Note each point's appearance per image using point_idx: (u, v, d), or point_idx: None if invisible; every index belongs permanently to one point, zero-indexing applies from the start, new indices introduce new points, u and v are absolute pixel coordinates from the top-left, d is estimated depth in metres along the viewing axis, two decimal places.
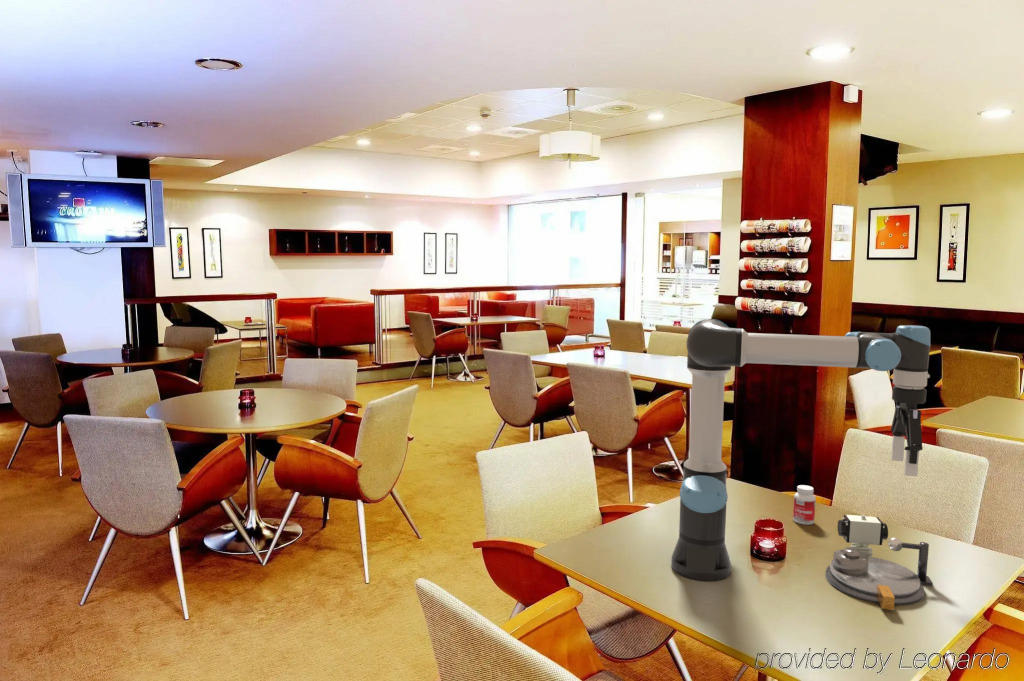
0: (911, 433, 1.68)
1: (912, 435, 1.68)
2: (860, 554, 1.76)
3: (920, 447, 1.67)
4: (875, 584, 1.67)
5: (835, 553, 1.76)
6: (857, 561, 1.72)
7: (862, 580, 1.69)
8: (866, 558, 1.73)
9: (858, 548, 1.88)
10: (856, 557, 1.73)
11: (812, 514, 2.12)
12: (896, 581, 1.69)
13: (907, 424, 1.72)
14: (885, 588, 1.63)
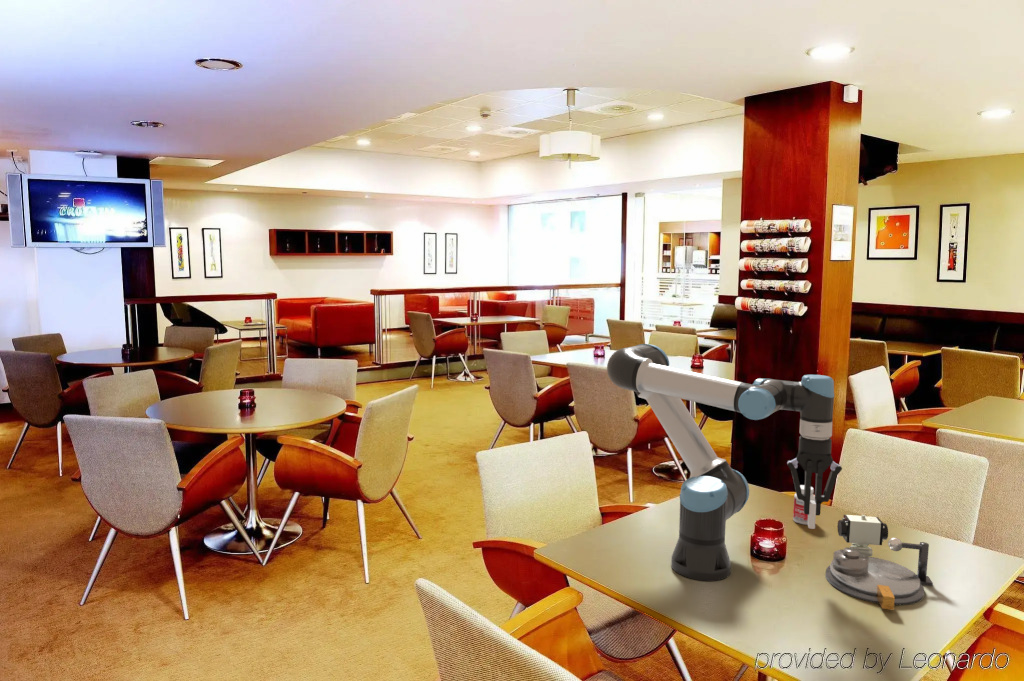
0: None
1: (794, 484, 1.77)
2: (860, 554, 1.76)
3: None
4: (875, 584, 1.67)
5: (835, 553, 1.76)
6: (857, 561, 1.72)
7: (862, 580, 1.69)
8: (866, 558, 1.73)
9: (858, 548, 1.88)
10: (856, 557, 1.73)
11: None
12: (896, 581, 1.69)
13: (805, 474, 1.77)
14: (885, 588, 1.63)
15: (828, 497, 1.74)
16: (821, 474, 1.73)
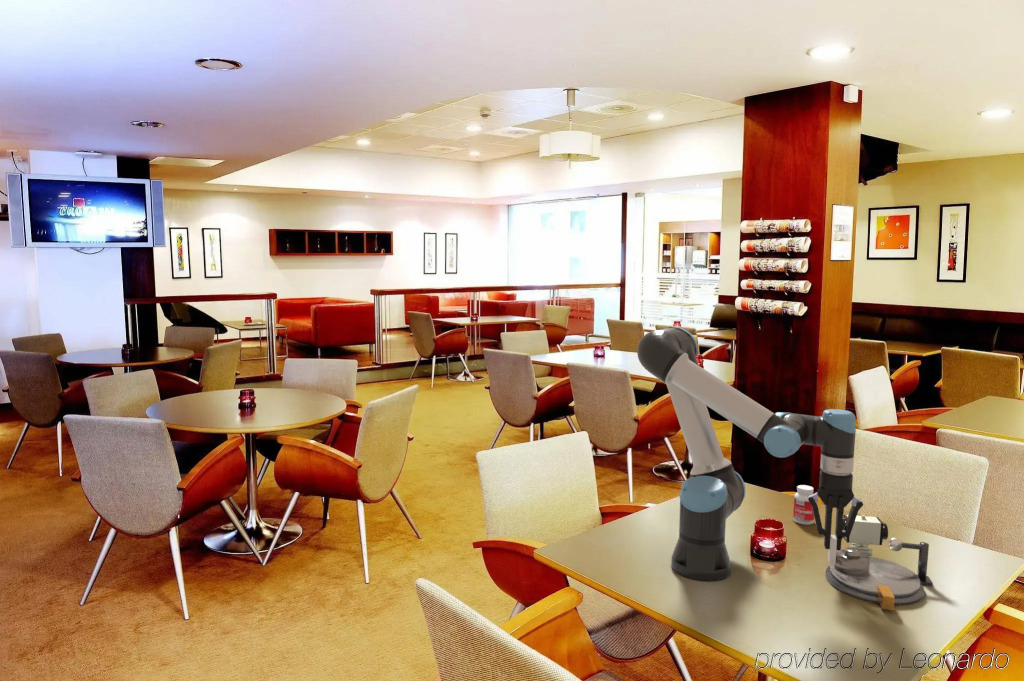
0: (814, 517, 1.77)
1: None
2: (861, 554, 1.76)
3: (818, 532, 1.76)
4: (875, 584, 1.67)
5: (836, 553, 1.76)
6: (858, 561, 1.72)
7: (862, 580, 1.69)
8: (867, 558, 1.73)
9: (858, 548, 1.88)
10: (857, 557, 1.73)
11: (812, 514, 2.12)
12: (896, 581, 1.69)
13: None
14: (885, 588, 1.63)
15: (849, 532, 1.73)
16: (842, 509, 1.72)
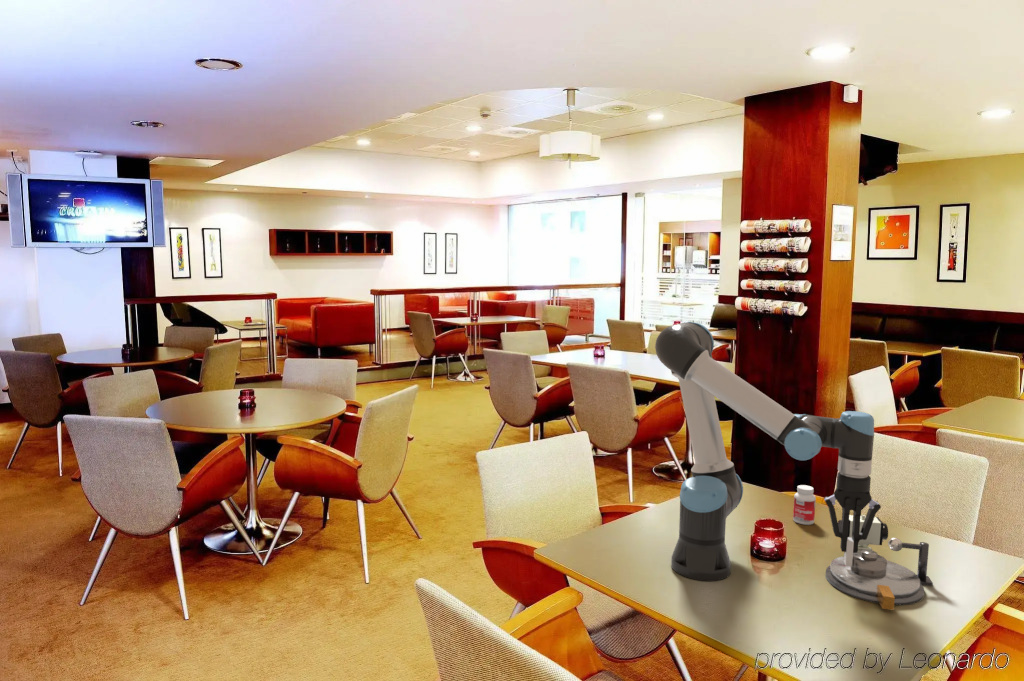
0: None
1: (831, 521, 1.76)
2: (878, 556, 1.75)
3: None
4: (875, 584, 1.67)
5: (853, 555, 1.75)
6: (875, 563, 1.71)
7: (862, 580, 1.69)
8: (884, 560, 1.72)
9: (858, 548, 1.88)
10: (874, 559, 1.72)
11: (812, 514, 2.12)
12: (896, 581, 1.69)
13: (842, 511, 1.75)
14: (885, 588, 1.63)
15: (866, 535, 1.72)
16: (859, 512, 1.71)
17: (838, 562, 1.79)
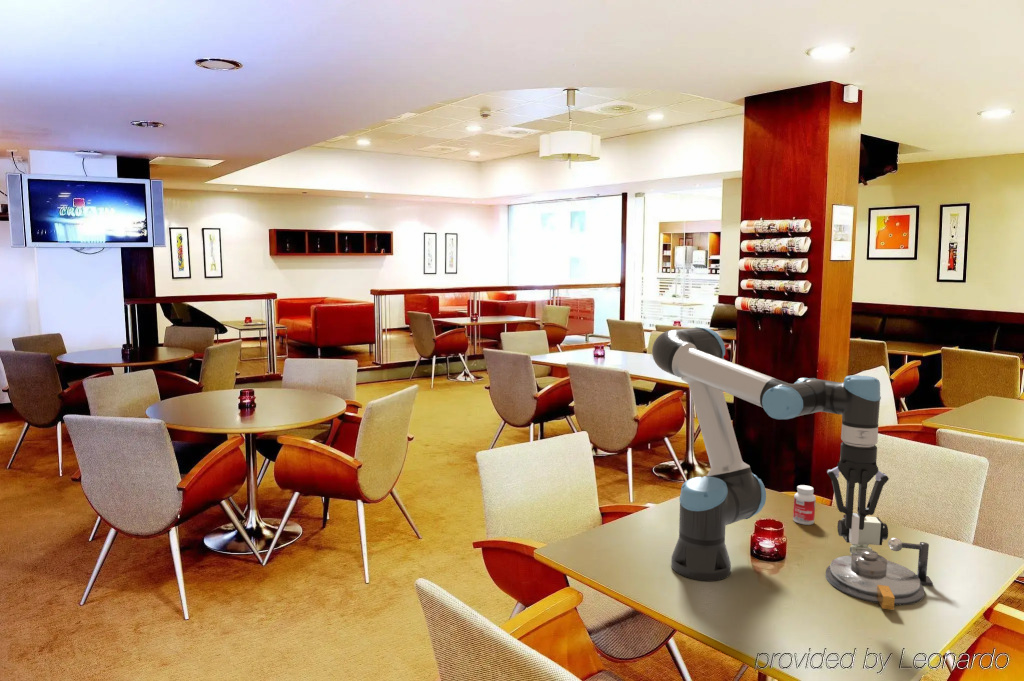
0: (834, 493, 1.62)
1: (835, 495, 1.62)
2: (878, 556, 1.75)
3: (838, 509, 1.61)
4: (875, 584, 1.67)
5: (853, 555, 1.75)
6: (876, 563, 1.71)
7: (862, 580, 1.69)
8: (885, 560, 1.72)
9: (858, 548, 1.88)
10: (874, 559, 1.72)
11: (812, 514, 2.12)
12: (896, 581, 1.69)
13: None
14: (885, 588, 1.63)
15: (873, 510, 1.58)
16: (865, 484, 1.58)
17: (838, 562, 1.79)
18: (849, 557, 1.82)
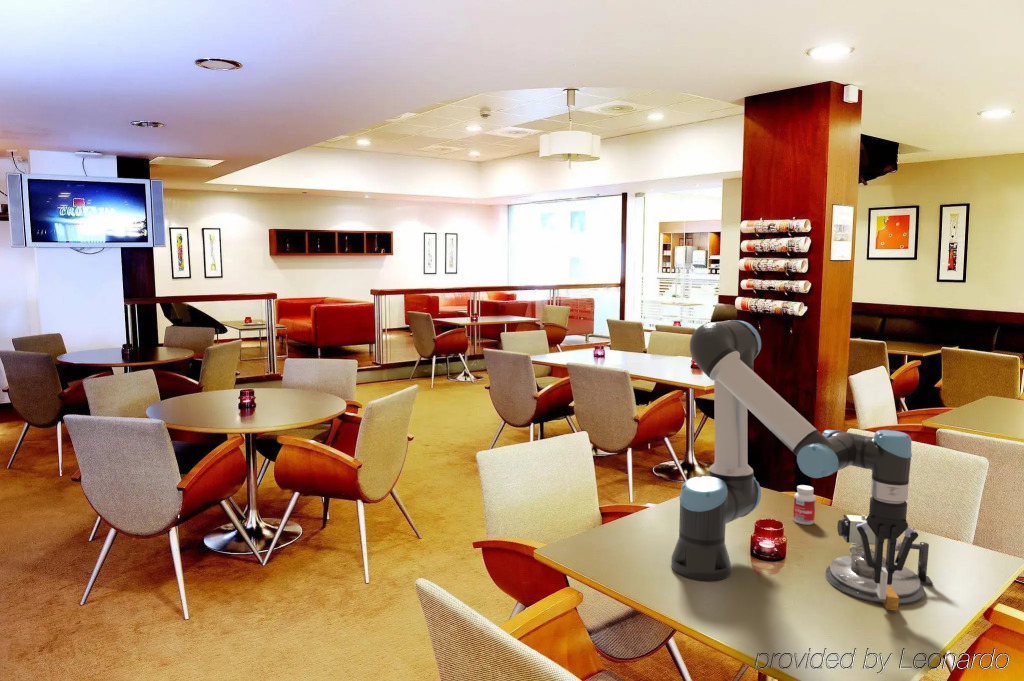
0: None
1: (863, 550, 1.62)
2: None
3: (867, 564, 1.60)
4: (877, 584, 1.67)
5: (853, 555, 1.75)
6: None
7: (864, 580, 1.69)
8: (885, 560, 1.73)
9: (858, 548, 1.88)
10: None
11: (812, 514, 2.12)
12: (897, 581, 1.69)
13: (875, 539, 1.61)
14: (888, 589, 1.63)
15: (901, 565, 1.58)
16: (895, 540, 1.57)
17: (838, 562, 1.79)
18: (847, 557, 1.82)
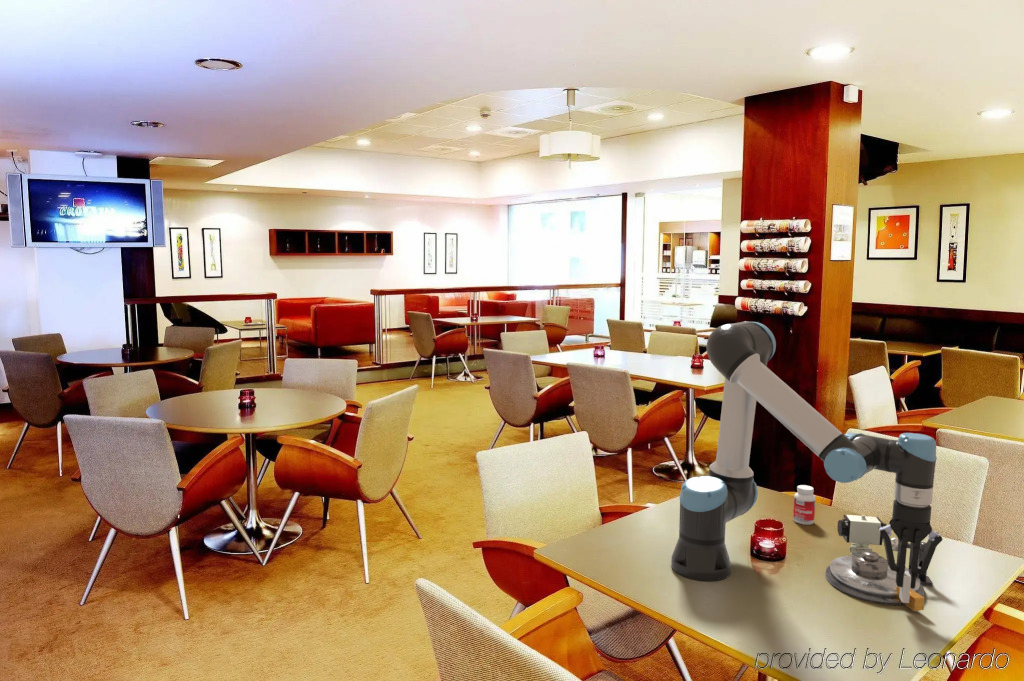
0: None
1: (886, 553, 1.61)
2: None
3: (890, 568, 1.59)
4: (890, 585, 1.66)
5: (855, 558, 1.73)
6: (881, 563, 1.70)
7: (876, 583, 1.67)
8: (883, 558, 1.73)
9: (858, 548, 1.88)
10: (877, 559, 1.72)
11: (812, 514, 2.12)
12: None
13: (898, 542, 1.60)
14: None
15: (925, 569, 1.57)
16: (918, 544, 1.56)
17: (837, 567, 1.76)
18: (839, 560, 1.81)
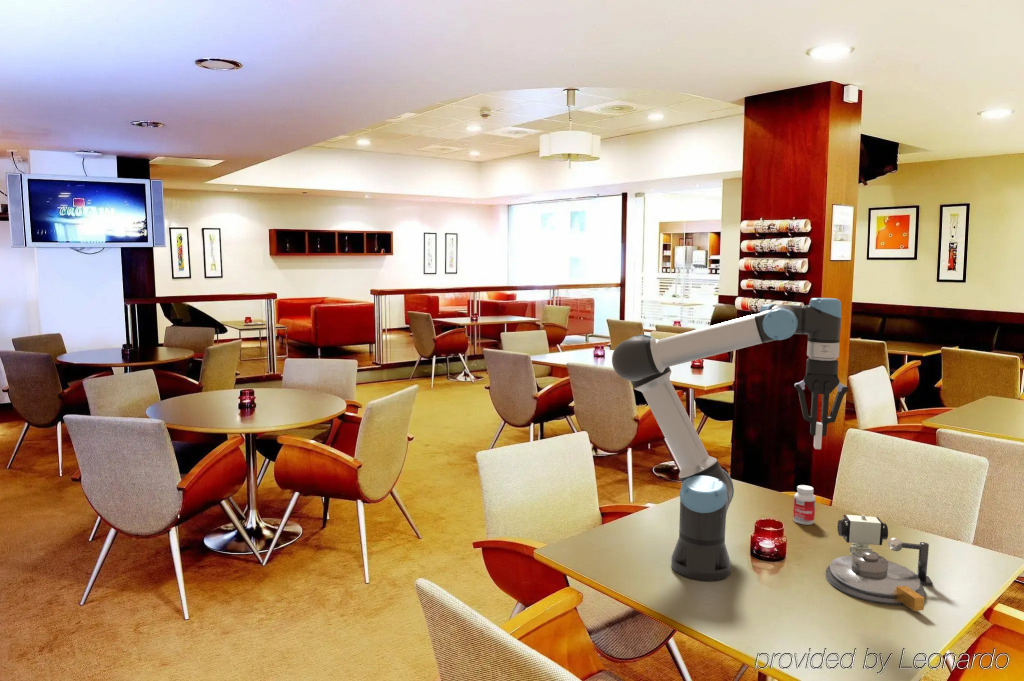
0: None
1: (801, 406, 1.81)
2: None
3: (804, 418, 1.79)
4: (890, 585, 1.66)
5: (855, 558, 1.73)
6: (881, 564, 1.70)
7: (876, 583, 1.67)
8: (883, 558, 1.73)
9: (858, 548, 1.88)
10: (877, 559, 1.72)
11: (812, 514, 2.12)
12: (900, 578, 1.70)
13: None
14: (907, 589, 1.62)
15: (834, 417, 1.77)
16: (828, 395, 1.76)
17: (837, 567, 1.76)
18: (839, 560, 1.81)
